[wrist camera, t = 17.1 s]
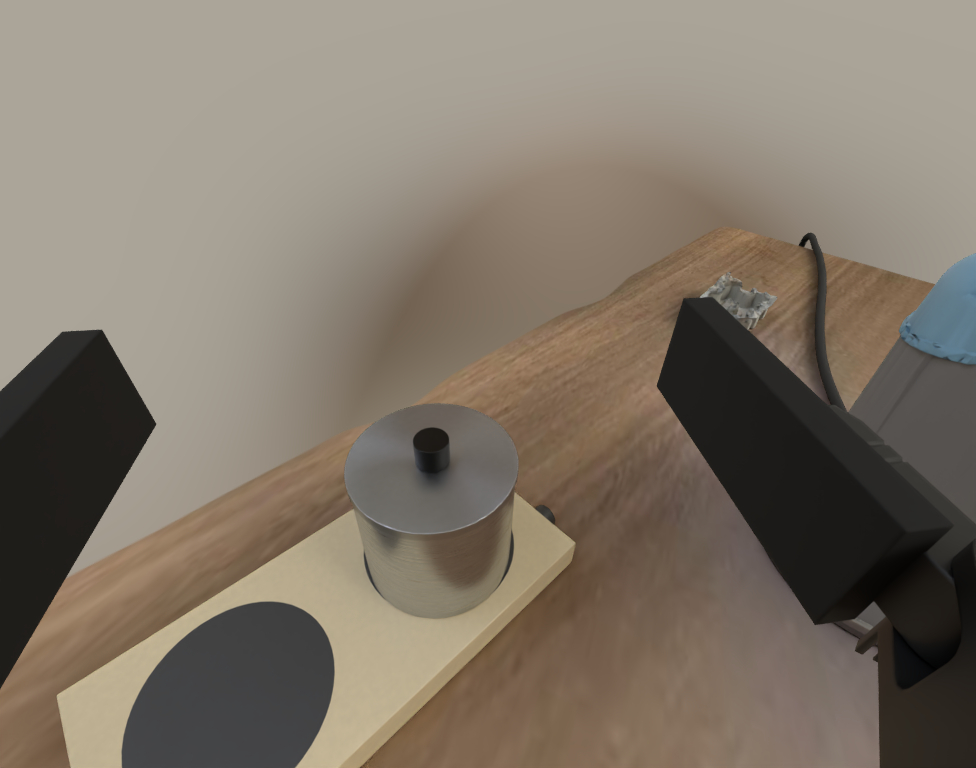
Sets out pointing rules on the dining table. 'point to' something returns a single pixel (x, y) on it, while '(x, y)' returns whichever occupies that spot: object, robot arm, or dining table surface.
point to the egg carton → (740, 300)
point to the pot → (434, 506)
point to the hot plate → (294, 662)
